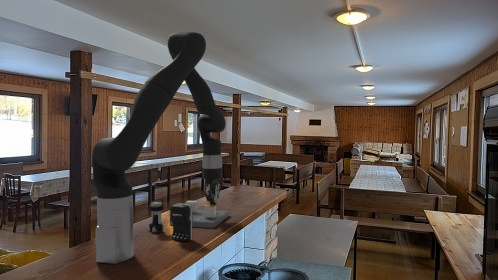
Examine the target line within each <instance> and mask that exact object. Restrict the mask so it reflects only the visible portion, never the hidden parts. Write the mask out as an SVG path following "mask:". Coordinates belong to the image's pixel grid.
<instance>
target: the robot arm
mask: <svg viewBox="0 0 498 280" xmlns="http://www.w3.org/2000/svg"><path fill="white" fill-rule="evenodd" d="M206 41H207V40H206V39H205V37H204V36H203V35H202V34H201V33H199V32H195V31H175V32H173V33H172V34H170V35H169V38H168V39H167V49H168V53H169V55H170V58H171V59H172V61H171V62H169V63H168V64H167V65H165V66H164V67H162V68H161V69H159V70H158V71H156V72H155V73H153V74H152V75H150V76H149V77H148V79H147V80H146V81H145V82H144V84H143V85H142V86H141V88H140V89H139V91H138V92H137V93H136V96H135V98H134V102H133V105H132V111H131V114H130V117H129V119H128V121H127V123H126V124H125V126H124V127H123V128H122V129H121V131H120V132H119V133H118V134H117V135H116V136H115V137H104V138H101V139H100V140H98V141H97V142H96V143H95V145H94V147H93V149H92V154H91V164H92V177H93V178H92V179H93V185H94V188H95V191H96V205H97V206H96V207H97V208H96V210H97V214H96V217H97V226H96V227H95V259H96V260H95V261H96V263H105V264H116V265H117V264H118V263H121V262H125V261H128V260H130V259H132V258H133V257H134V256H135V248H134V247H135V246H134V204H133V202H134V201H133V198H134V197H133V185H132V184H131V182H130V181H129V180H128V178H127V176H126V171H128V170H129V169H131V168H132V167H133V166H134V165H135V163H136V161H137V160H138V158H139V157H140V154H141V152H142V150H143V148H144V147H145V144H146V142H147V140H148V138H149V137H150V135H151V133H152V131H153V130H154V128H155V127H156V125H157V124H158V122H159V120H160V119H161V117H162V115H164V112H165V111H166V110H167V108H168V107H169V105H170V104H171V103H172V100H173V99H174V97H175V95H176V93H177V92H178V90H179V89H180V88H181V86H182V85H183V83H184V82H185V84H186V86H187V88H188V90H189V93H190V95H191V97H192V100H193V102H194V103H193V104H194V106H195V109H196V110H197V112H198V113H199V114H201V115H200V116H199V117H198V119H197V124H196V125H197V129H198V133H199V135H200V138H201V143H202V159H201V161H202V163H201V167H202V179H203V180H205V181H206V184H205V189H203V194H204V197H205V199H206V202H208V203H209V205H216V206H217V201H218V199H219V197H220V192H221V188H222V184H220V183H219V180H222V179H223V157H222V142H221V140H220V139H218V138H215V137H212V136H211V134H212V133H215V134H216V133H222V132H223V131H225V129H226V124H227V123H226V122H227V121H226V119H225V116H224V114H223V113H222V111H221V110H220V108H219V106H218V105H217V104H216V102H215V99H214V96H213V93H212V90H211V88H210V87H209V85H208V83H207V82H206V80H205V79H204V78H203V77H202V76H201V75H200V73H199V72H198V71H197V70H196V66H197V65H198V64H199V63H200V61H201V60H202V59H203V57H204V54H205V53H206V49H207V43H206Z"/></svg>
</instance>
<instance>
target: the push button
mask: <svg viewBox="0 0 498 280" xmlns="http://www.w3.org/2000/svg"><path fill="white" fill-rule="evenodd" d="M164 207H165V204H162V201H152V202H151V203H150V204H149V205H148V207H147V208H148V210H149V212H151V223H149V224H148V225H147V227H148V228H147V230H149V232H151V233H157V234H160V233H163V232H164V224H163V223H162V212H163V211H164Z"/></svg>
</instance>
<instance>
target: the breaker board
mask: <svg viewBox="0 0 498 280" xmlns="http://www.w3.org/2000/svg"><path fill="white" fill-rule="evenodd" d="M198 203H199V202H198V200H186V201H185V204H188V205H190V206H191V207H192V214H193V224H192V228H208V229H215V228H216V227H217V226H219V225H220V224H221V223H222V222H223V221H224V220H226V219H227V218H228V217H229V216H230V211H229V210H217V209H216V217H214V218H211V217H204V209H198V208H199V207H198ZM169 226H173V222H172V221H170V220H169Z"/></svg>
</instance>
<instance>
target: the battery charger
mask: <svg viewBox="0 0 498 280" xmlns="http://www.w3.org/2000/svg"><path fill="white" fill-rule="evenodd" d="M170 221H172V222H173V225H172V235H171V239H172V240H174V241H179V242H189V241H192V240H193V227H192V224H193V214H192V207H191V206H190V205H188V204H186V203H175V204H173V205H171V206H170V209H169V222H170Z"/></svg>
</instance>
